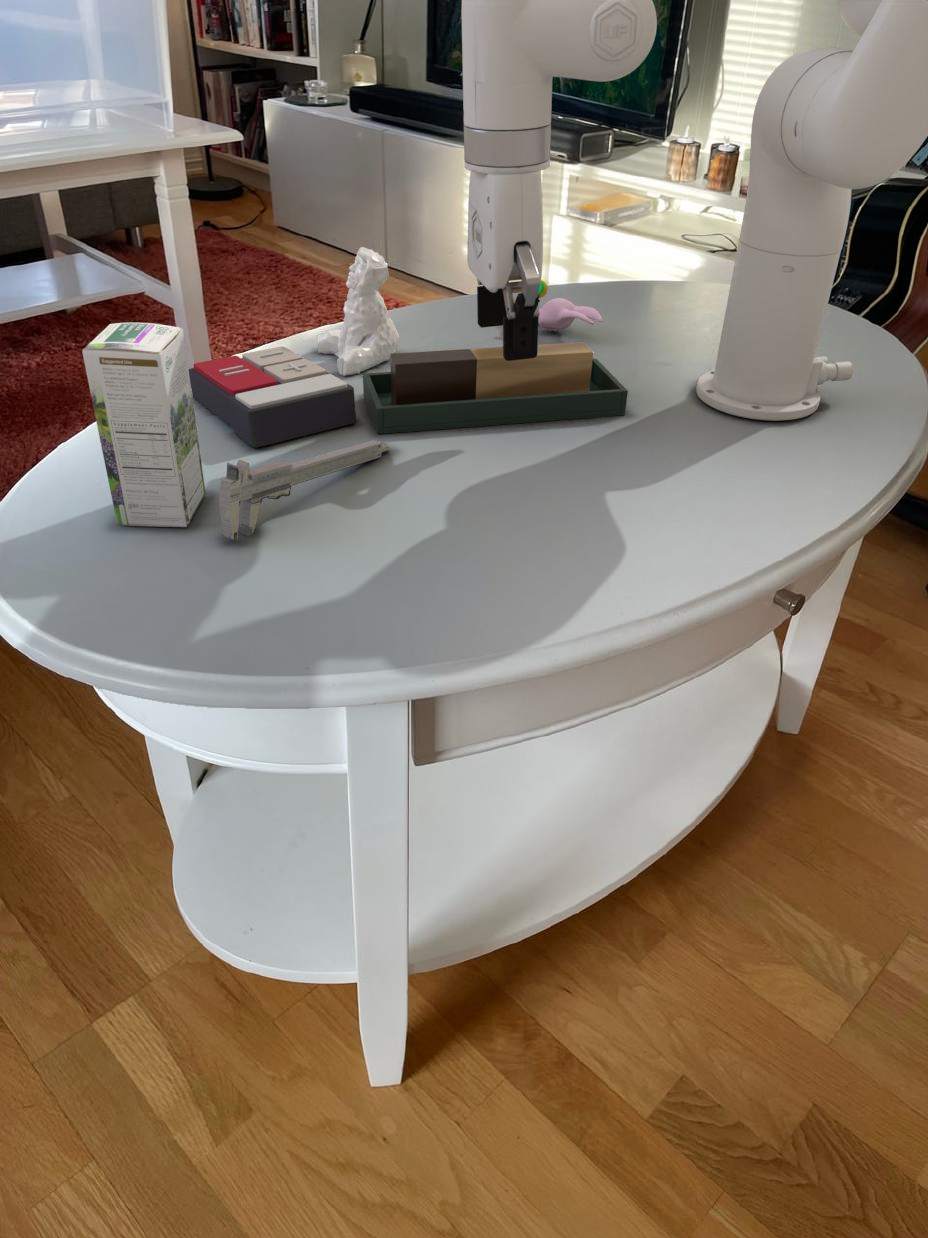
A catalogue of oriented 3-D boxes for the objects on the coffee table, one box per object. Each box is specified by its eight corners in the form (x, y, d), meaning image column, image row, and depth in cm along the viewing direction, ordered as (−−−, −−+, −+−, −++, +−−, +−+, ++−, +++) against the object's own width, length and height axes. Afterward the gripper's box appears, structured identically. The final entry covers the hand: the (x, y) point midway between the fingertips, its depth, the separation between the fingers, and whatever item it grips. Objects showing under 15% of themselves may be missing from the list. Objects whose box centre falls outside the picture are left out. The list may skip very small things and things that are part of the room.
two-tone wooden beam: (588, 399, 95) (593, 351, 92) (396, 413, 91) (395, 364, 88) (578, 388, 98) (583, 341, 95) (391, 401, 94) (390, 353, 91)
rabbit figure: (490, 330, 118) (580, 342, 108) (486, 281, 115) (578, 288, 105) (524, 320, 121) (614, 331, 111) (522, 272, 119) (614, 278, 108)
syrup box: (139, 492, 78) (104, 320, 70) (209, 495, 78) (182, 322, 70) (116, 526, 73) (76, 346, 65) (191, 529, 73) (160, 349, 65)
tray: (593, 381, 101) (596, 358, 99) (625, 415, 94) (628, 390, 92) (363, 397, 96) (362, 373, 94) (377, 434, 89) (376, 408, 87)
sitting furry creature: (312, 349, 107) (304, 240, 100) (381, 339, 110) (378, 233, 103) (342, 377, 100) (335, 262, 93) (414, 366, 103) (414, 254, 96)
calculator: (284, 341, 98) (355, 379, 88) (289, 381, 101) (358, 422, 90) (185, 361, 93) (247, 403, 83) (192, 402, 95) (253, 448, 85)
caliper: (234, 546, 72) (223, 473, 68) (224, 542, 72) (213, 469, 68) (390, 451, 86) (388, 386, 82) (381, 448, 86) (379, 383, 82)
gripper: (443, 135, 87) (449, 317, 97) (490, 169, 74) (491, 377, 84) (520, 130, 88) (518, 310, 99) (580, 162, 75) (571, 368, 85)
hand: (506, 341), depth 91 cm, fingers open, 9 cm apart
